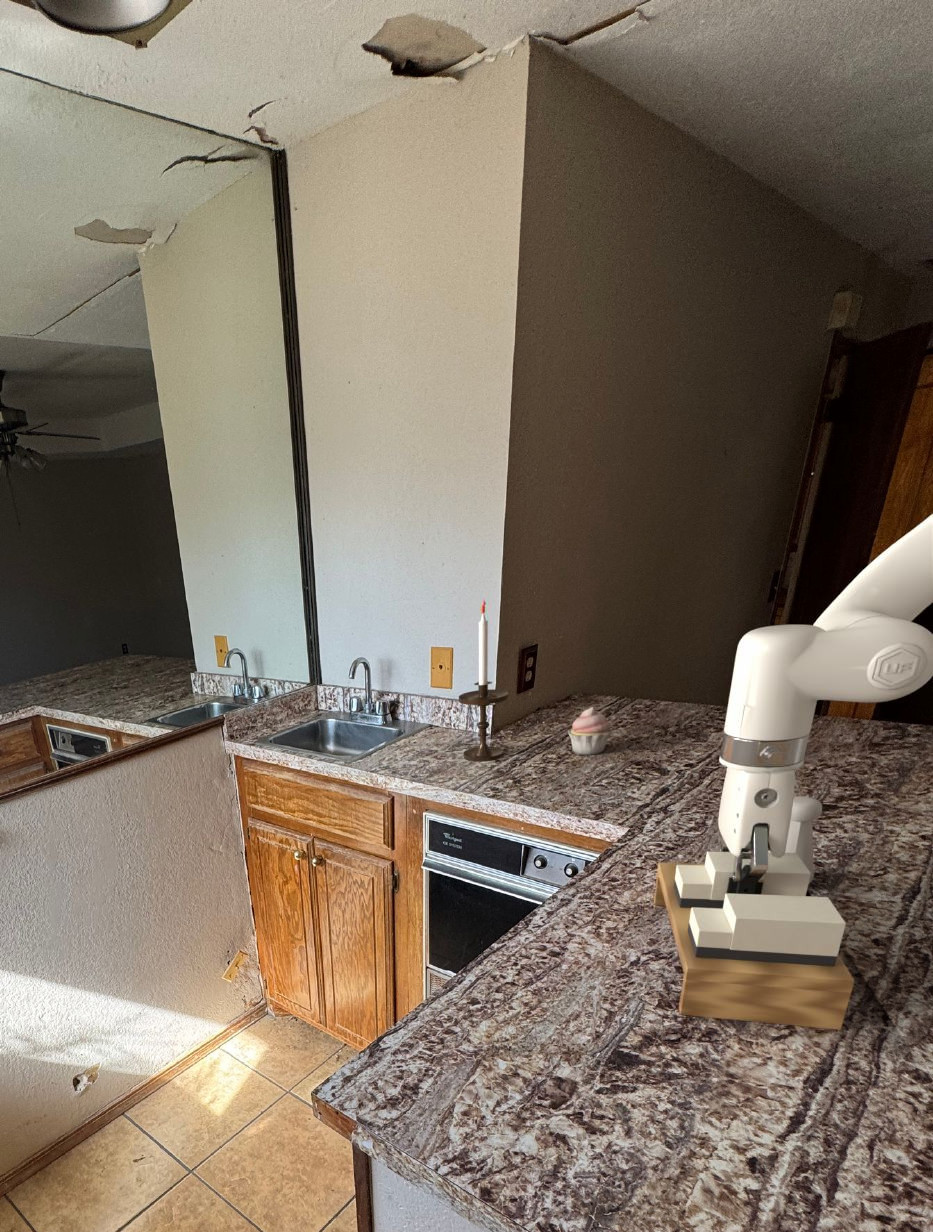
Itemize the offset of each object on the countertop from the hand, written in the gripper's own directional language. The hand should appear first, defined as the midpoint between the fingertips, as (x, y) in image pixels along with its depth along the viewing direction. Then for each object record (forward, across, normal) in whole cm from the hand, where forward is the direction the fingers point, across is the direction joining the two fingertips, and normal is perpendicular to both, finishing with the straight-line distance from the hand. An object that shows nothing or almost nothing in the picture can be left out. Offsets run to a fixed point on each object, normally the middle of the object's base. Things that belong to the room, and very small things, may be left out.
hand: (734, 895), depth 82 cm
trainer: (0, 0, 0) cm, 0 cm away
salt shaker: (+7, +15, -9) cm, 19 cm away
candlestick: (+7, +81, +36) cm, 89 cm away
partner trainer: (0, -11, 0) cm, 11 cm away
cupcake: (+7, +82, +13) cm, 83 cm away
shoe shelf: (+6, -3, 0) cm, 7 cm away
